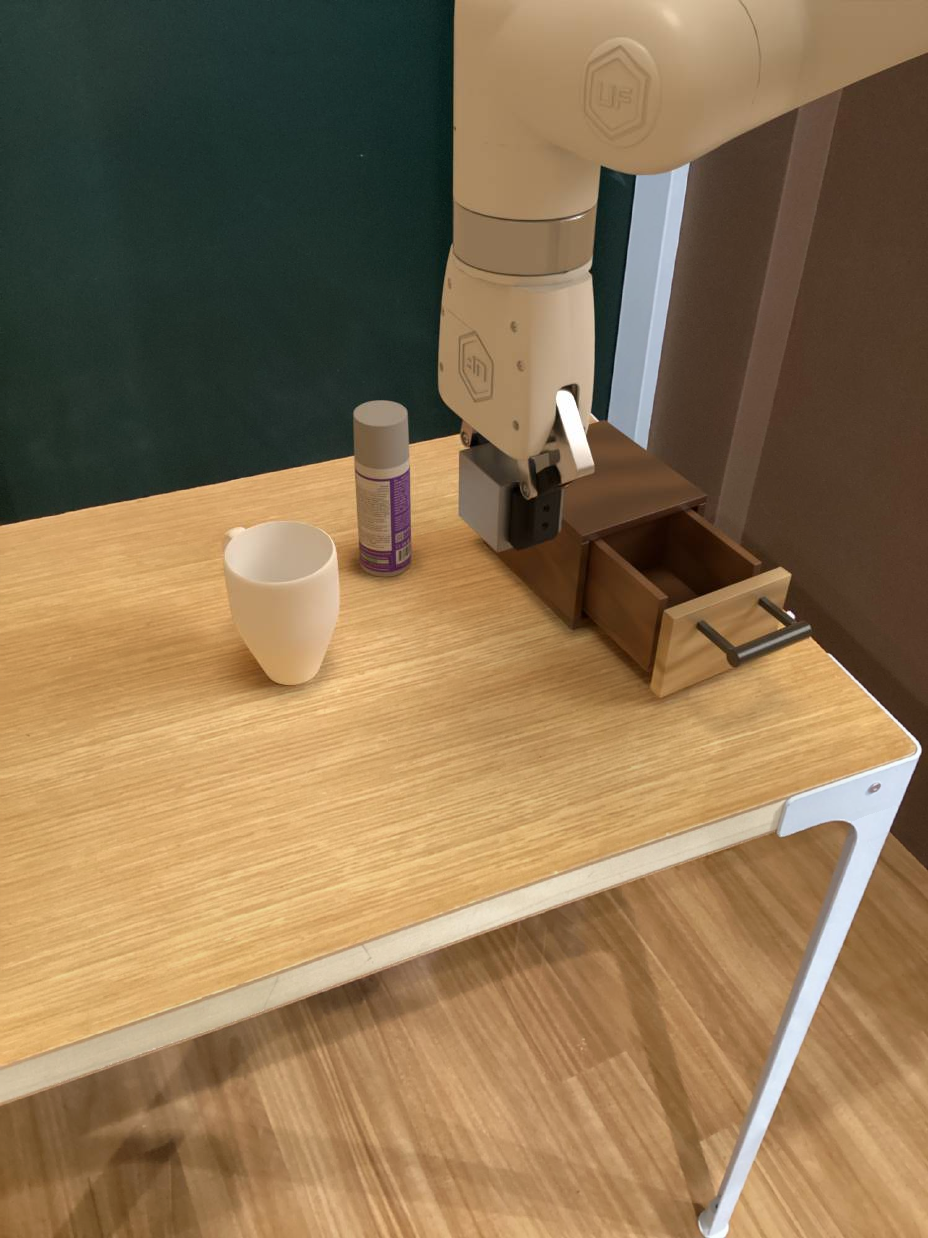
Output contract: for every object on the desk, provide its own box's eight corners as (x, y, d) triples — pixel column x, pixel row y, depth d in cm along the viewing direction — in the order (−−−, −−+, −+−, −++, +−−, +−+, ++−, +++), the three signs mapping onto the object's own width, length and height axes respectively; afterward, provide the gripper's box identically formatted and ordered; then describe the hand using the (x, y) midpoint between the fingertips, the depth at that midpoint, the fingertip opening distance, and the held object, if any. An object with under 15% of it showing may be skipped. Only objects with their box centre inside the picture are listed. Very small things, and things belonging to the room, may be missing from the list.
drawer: (815, 688, 83) (838, 609, 78) (700, 738, 79) (718, 658, 74) (667, 565, 95) (680, 490, 90) (561, 602, 91) (568, 526, 86)
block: (520, 496, 71) (523, 431, 68) (561, 531, 68) (567, 465, 65) (457, 515, 69) (458, 450, 66) (497, 553, 66) (499, 486, 63)
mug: (365, 672, 85) (359, 554, 78) (277, 719, 81) (262, 599, 73) (281, 600, 92) (268, 487, 85) (196, 640, 88) (175, 524, 80)
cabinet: (690, 587, 94) (707, 494, 88) (572, 630, 89) (582, 535, 83) (594, 507, 104) (604, 419, 98) (483, 542, 99) (487, 452, 93)
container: (399, 542, 99) (395, 395, 90) (419, 569, 96) (418, 419, 86) (352, 554, 97) (343, 405, 88) (371, 582, 94) (364, 431, 85)
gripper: (386, 198, 61) (395, 475, 72) (555, 302, 49) (534, 610, 61) (498, 179, 64) (490, 447, 75) (681, 273, 52) (638, 572, 64)
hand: (509, 518), depth 68 cm, fingers closed on block, 4 cm apart
